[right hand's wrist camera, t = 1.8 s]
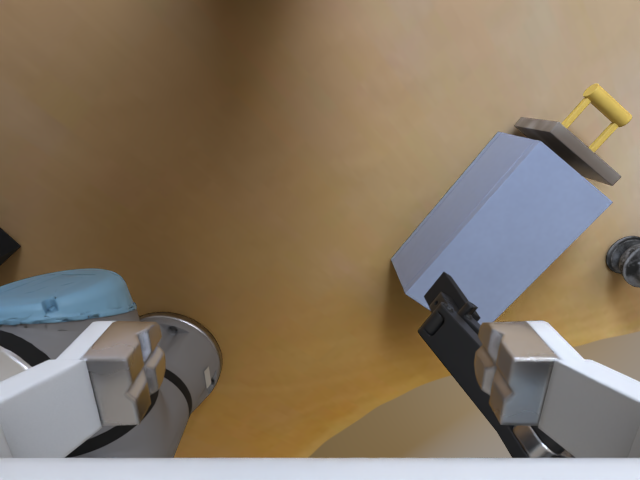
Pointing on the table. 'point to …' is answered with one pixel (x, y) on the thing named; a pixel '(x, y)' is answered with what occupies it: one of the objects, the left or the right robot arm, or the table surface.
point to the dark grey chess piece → (626, 259)
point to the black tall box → (6, 246)
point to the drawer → (570, 145)
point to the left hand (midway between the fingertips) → (499, 323)
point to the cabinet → (500, 225)
